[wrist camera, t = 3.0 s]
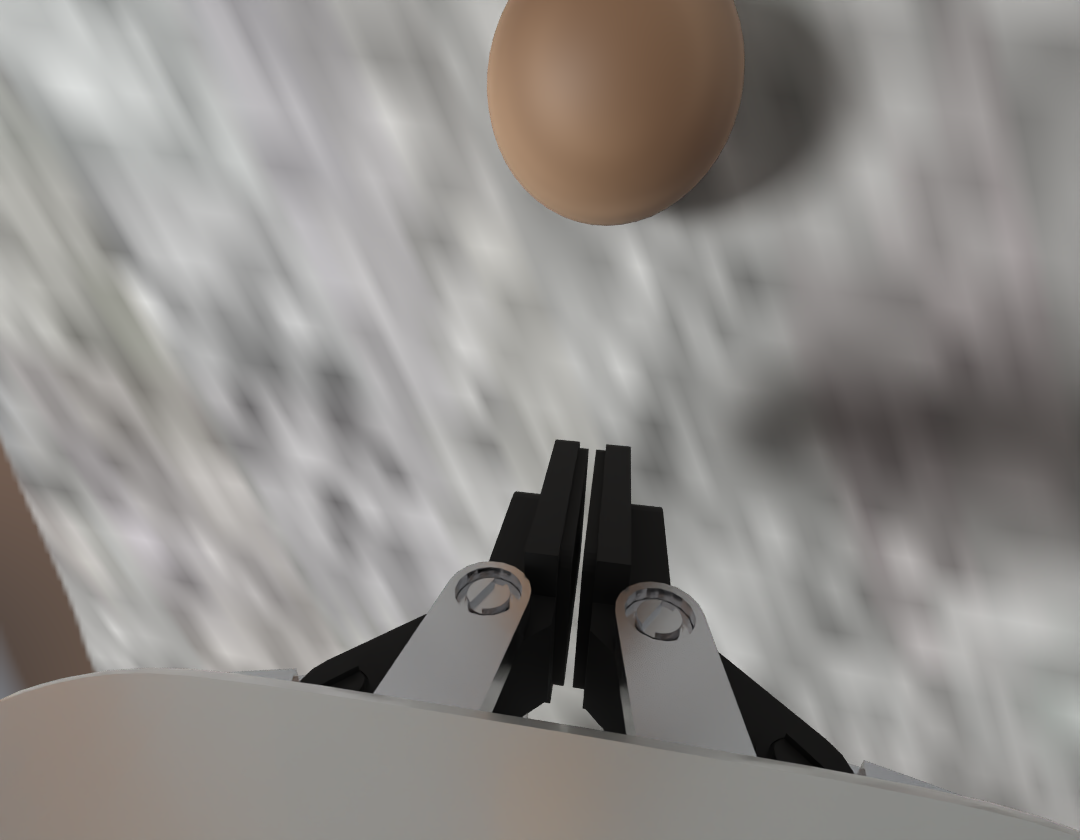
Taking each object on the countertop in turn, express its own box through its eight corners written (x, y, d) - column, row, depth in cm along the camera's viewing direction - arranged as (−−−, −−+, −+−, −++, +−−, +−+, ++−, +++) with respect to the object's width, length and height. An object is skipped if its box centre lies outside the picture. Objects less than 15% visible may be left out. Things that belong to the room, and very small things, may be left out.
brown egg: (590, 261, 16) (575, 289, 11) (473, 96, 14) (393, 39, 9) (760, 130, 14) (840, 88, 9) (642, -73, 13) (655, -256, 8)
